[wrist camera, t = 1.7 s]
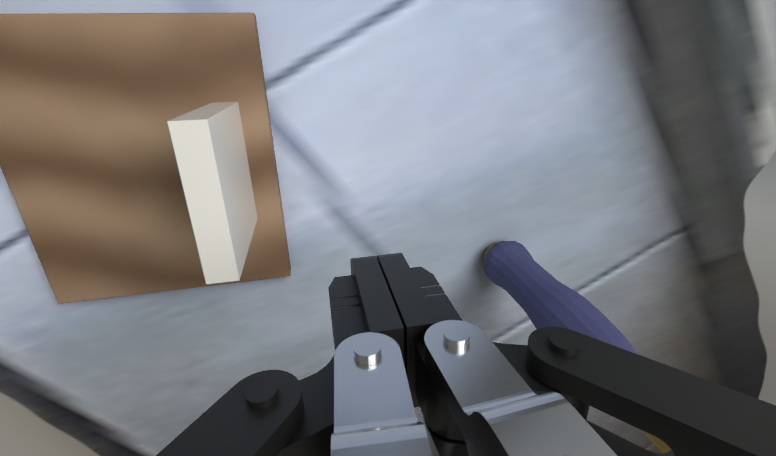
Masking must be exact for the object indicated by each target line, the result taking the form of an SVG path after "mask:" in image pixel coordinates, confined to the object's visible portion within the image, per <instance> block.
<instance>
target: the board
mask: <svg viewBox="0 0 776 456" xmlns="http://www.w3.org/2000/svg"><path fill="white" fill-rule="evenodd" d="M219 102H238V104H239V110H240V116H241V122H242V128H243V134H244V140H245V146H246V152H247V158H248V164H249V170H250V176H251V182H252V188H253V194H254V200H255V206H256V212H257V222H256V225H255V229H254V232H253V236H252V239H251V243H250V246H249V250H248V253H247V256H246V260H245V263H244V267H243V270H242V274H241V277H240V280H239V281H231V282H223V283H214V284H206V281H205V277H204V274H203V271H202V267H201V262H200V258H199V254H198V250H197V246H196V242H195V237H194V233H193V229H192V225H191V221H190V217H189V212H188V208H187V204H186V200H185V196H184V192H183V187H182V183H181V179H180V175H179V171H178V167H177V162H176V158H175V154H174V150H173V146H172V142H171V137H170V133H169V127H168V122H167V121H169V120H171V119H174V118H176V117H179V116H181V115H183V114H186V113H188V112H191V111H193V110H195V109H198V108H200V107H203V106H205V105H207V104H210V103H219ZM0 166H1V169H2V171H3V173H4V176H5V178H6V181H7V183H8V185H9V188H10V190H11V193H12V195H13V197H14V200H15V202H16V204H17V207H18V209H19V212H20V214H21V216H22V219H23V221H24V224H25V226H26V228H27V231H28V233H29V235H30V238H31V240H32V243H33V245H34V247H35V250H36V252H37V254H38V257H39V259H40V262H41V264H42V266H43V269H44V271H45V274H46V276H47V278H48V281H49V283H50V285H51V288H52V290H53V293H54V295H55V297H56V300H57V302H58V304H60V303H69V302H77V301H85V300H94V299H102V298H110V297H119V296H127V295H135V294H144V293H152V292H160V291H169V290H177V289H185V288H194V287H202V286H210V285H219V284H227V283H235V282H244V281H252V280H260V279H269V278H277V277H286V276H290V273H291V267H290V260H289V253H288V246H287V238H286V231H285V224H284V217H283V210H282V203H281V195H280V188H279V181H278V174H277V167H276V160H275V152H274V145H273V138H272V131H271V124H270V117H269V109H268V102H267V95H266V88H265V81H264V74H263V66H262V59H261V52H260V45H259V38H258V31H257V23H256V16H255V14H254V13H99V14H0Z"/></svg>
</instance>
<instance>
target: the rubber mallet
mask: <svg viewBox="0 0 776 456" xmlns="http://www.w3.org/2000/svg"><path fill="white" fill-rule="evenodd" d="M483 261H484V270H485V273H486V275H487V276H488V277H489V278H490V279H491V280H492V281H493V282H494V283H495V284H496V285H498V286H500V287H502V288H503V289H505V290H506V291H507V292H508V293H509V294H510V295H511V296H512V297H513V298H514V300H515V301H516V302H517V303H518V304H519V305H520V306H521V307H522V308H523V309H524V311H525V312H526V313H527V315H528V316H529V318H530V319H531V321H532V323H533V324H534V326H535V327H536V329H539V328H543V327H562V328H567V329H570V330H573V331H576V332H579V333H581V334H584V335H587V336H590V337H592V338H595V339H598V340H600V341H603V342H606V343H608V344H611V345H614V346H616V347H619V348H622V349H624V350H627V351H630V352H633V353H635V354H637V353H636V351H635V350H634V348H633V347H632V345H631V344H630V343H629V341H628V340H627V339H626V338H625V336H624V335H623V334H622V333H621V332H620V331H619V330H618V329H617V328H616V327H615V326H614V325H613V324H612V323H611V322H610V321H609V320H608V319H607V318H606V317H605V316H604V315H603V314H602V313H601V312H600V311H599V310H598V309H597V308H596V307H595V306H594V305H592V304H591V303H590V302H589V301H588V300H587V299H585V298H584V297H583V296H581V295H580V294H579V293H577V292H575V291H574V290H572V289H570V288H569V287H567V286H565V285H564V284H562V283H560V282H559V281H558V280H556V279H555V278H554V277H553V276H551V275H550V274H549V273H548V272H547V271H546V270H544V269H543V268H542V267H541V266H540V265H539V264H537V263H536V262H535V261H534V260H533V258H532V256H531V255H530V253H529V252H528V251H527V249H526V248H525V247H524V246H523V245H522V244H520V243H518V242H515V241H500V242H495V243H494V244H492V245H491V246H489V247H488V249H487V250H486V252H485V253H484V260H483ZM640 430H641V429H640ZM641 431H642V432H643V433H644V434H645V435H646V436H647V437H648V438H649V439H650V440H651V441H652V442H653V443H654V444H655V445H656V446H657V447H658V448H659V450H660V451H661V452H662V453H667V452H669V451H670V450H671V448H670V447H669V446H668V445H667V444H666V443H665V442H664V441H662V440H661V439H659V438H657V437H656V436H654V435H651V434H649V433H647V432H645V431H643V430H641Z"/></svg>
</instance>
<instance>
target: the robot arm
mask: <svg viewBox="0 0 776 456" xmlns="http://www.w3.org/2000/svg"><path fill="white" fill-rule="evenodd" d="M329 297H330V308H331V318H332V328H333V337H334V345H335V354H334V356H333V358H332V359H331V361H330V362H329V363H328V364H327V365H326V366H325V367H324V368H323V369H322V370H320V371H319V372H317V373H315V374H313V375H311V376H309V377H307V378H304V379H302V380H299V381H298V379H297V378H296V377H295V376H294V375H292V374H290V373H288V372H285V371H281V370H267V371H262V372H258V373H255V374H252V375H250V376H248V377H246V378H244V379H243V380H241V381H240V382H238V383H237V384H236V385H235V386H234V387H232V388H231V389H230V390H229V391H228V392H227V393H226V394H225V395H223V396H222V397H221V398H220V399H219V400H218V401H217V402H216V403H214V404H213V405H212V406H211V407H210V408H209V409H208V410H207V411H206V412H204V413H203V414H202V415H201V416H200V417H199V418H198V419H197V420H195V421H194V422H193V423H192V424H191V425H190V426H189V427H188V428H186V429H185V430H184V431H183V432H182V433H181V434H180V435H179V436H178V437H176V438H175V439H174V440H173V441H172V442H171V443H170V444H169V445H167V446H166V447H165V448H164V449H163V450H162V451H161V452H160V453H158V454H157V455H156V456H776V406H775V405H772V404H770V403H767V402H764V401H762V400H759V399H756V398H754V397H751V396H748V395H746V394H743V393H740V392H738V391H735V390H732V389H729V388H727V387H724V386H721V385H719V384H716V383H713V382H711V381H708V380H705V379H703V378H700V377H697V376H694V375H692V374H689V373H686V372H684V371H681V370H678V369H676V368H673V367H670V366H668V365H665V364H662V363H659V362H657V361H654V360H651V359H649V358H646V357H643V356H641V355H638V354H635V353H633V352H630V351H627V350H624V349H622V348H619V347H616V346H614V345H611V344H608V343H606V342H603V341H600V340H598V339H595V338H592V337H590V336H587V335H584V334H581V333H579V332H576V331H573V330H570V329H567V328H562V327H543V328H539V329H536V330H535V331H533V332H532V333H531V334H530V336H529V339H528V346H527V345H513V344H501V343H495V342H492V341H491V340H490V338H489V337H488V336H487V335H486V334H485V332H484V331H483V330H482V329H480V328H479V327H477V326H475V325H473V324H471V323H468V322H465V321H462V319H461V318H460V316H459V315H458V313H457V311H456V310H455V308H454V307H453V305H452V304H451V302H450V300H449V299H448V297H447V296H446V295H445V293H444V291H443V289H442V288H441V286H439V283H438V281H437V280H436V278H435V277H434V275H433V274H432V273H430V272H428V271H427V270H425V269H424V268H422V267H415V268H410V267H409V265H408V264H407V262H406V260H405V258H404V256H403V254H402V253H395V254H386V255H377V257H376V256H369V257H361V258H352V259H351V275H350V276H342V277H335V278H334V280H333V281H332V283H331V284H330V286H329ZM419 406H420V408H421V411H422V414H423V422H417V418H416V414H415V410H414V407H419ZM589 406H592V407H594V408H596V409H598V410H600V411H603V412H605V413H607V414H609V415H611V416H613V417H615V418H617V419H620V420H622V421H624V422H626V423H628V424H630V425H632V426H634V427H637V428H639V429H641V430H643V431H645V432H647V433H649V434H651V435H654V436H656V437H657V438H659V439H661V440H662V441H664V442H665V443H666V444H667V445H668V446H669V447H670V448H671V450H670V451H669V452H667V453H663V454H658V453H653V452H650V451H648V450H646V449H644V448H642V447H640V446H638V445H636V444H634V443H632V442H629V441H627V440H625V439H623V438H621V437H619V436H617V435H615V434H613V433H611V432H609V431H607V430H605V429H603V428H601V427H599V426H597V425H595V424H593V423H591V422H589V421H587V420H586V419H587V415H588V410H589Z"/></svg>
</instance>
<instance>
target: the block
mask: <svg viewBox="0 0 776 456" xmlns="http://www.w3.org/2000/svg"><path fill="white" fill-rule="evenodd" d="M167 122H168V127H169V133H170V137H171V142H172V146H173V150H174V154H175V158H176V162H177V167H178V171H179V175H180V179H181V183H182V187H183V192H184V196H185V200H186V204H187V208H188V212H189V217H190V221H191V225H192V229H193V233H194V237H195V242H196V246H197V250H198V254H199V258H200V262H201V267H202V271H203V274H204V277H205V281H206V284H214V283H223V282H231V281H239V280H240V277H241V274H242V270H243V267H244V263H245V260H246V256H247V253H248V250H249V246H250V243H251V239H252V236H253V232H254V229H255V225H256V222H257V212H256V206H255V200H254V194H253V188H252V182H251V176H250V170H249V164H248V158H247V152H246V146H245V140H244V134H243V128H242V122H241V116H240V110H239V104H238V102H219V103H210V104H207V105H205V106H203V107H200V108H198V109H195V110H193V111H191V112H188V113H186V114H183V115H181V116H179V117H176V118H174V119H171V120H169V121H167Z"/></svg>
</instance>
